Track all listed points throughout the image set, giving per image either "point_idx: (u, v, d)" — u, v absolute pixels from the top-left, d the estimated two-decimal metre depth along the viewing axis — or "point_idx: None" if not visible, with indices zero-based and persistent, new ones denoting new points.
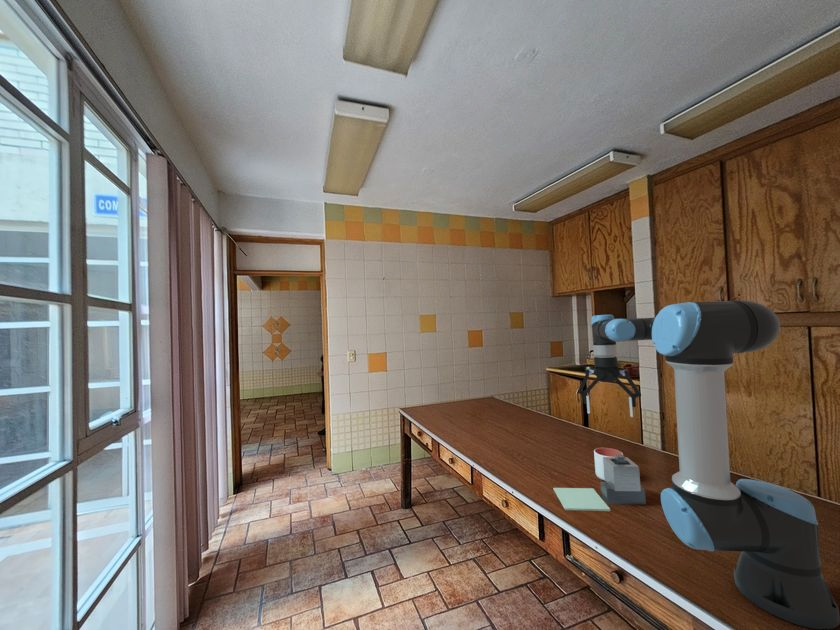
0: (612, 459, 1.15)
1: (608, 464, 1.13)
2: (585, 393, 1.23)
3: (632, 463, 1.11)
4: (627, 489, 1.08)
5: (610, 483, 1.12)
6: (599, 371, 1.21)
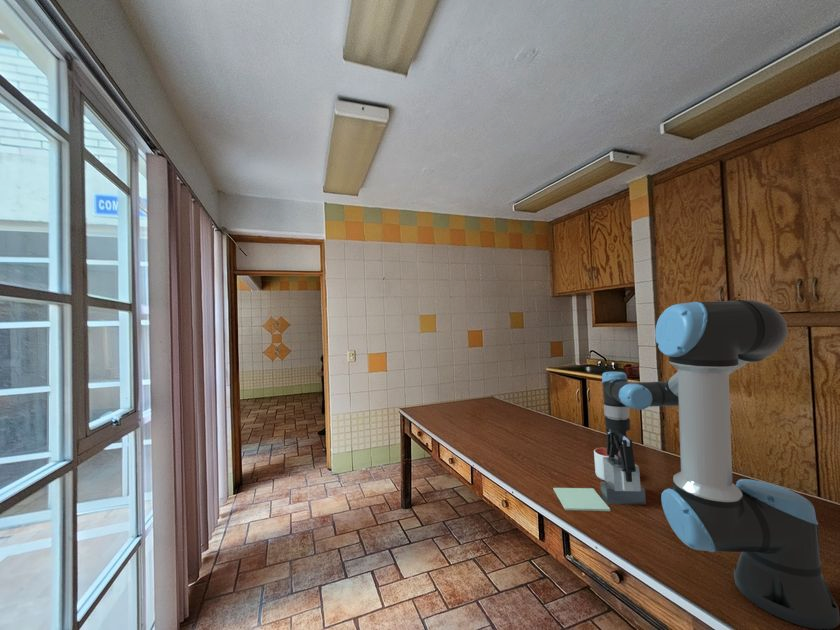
0: (612, 459, 1.15)
1: (608, 464, 1.13)
2: (609, 456, 1.18)
3: None
4: None
5: (610, 483, 1.12)
6: (611, 430, 1.15)
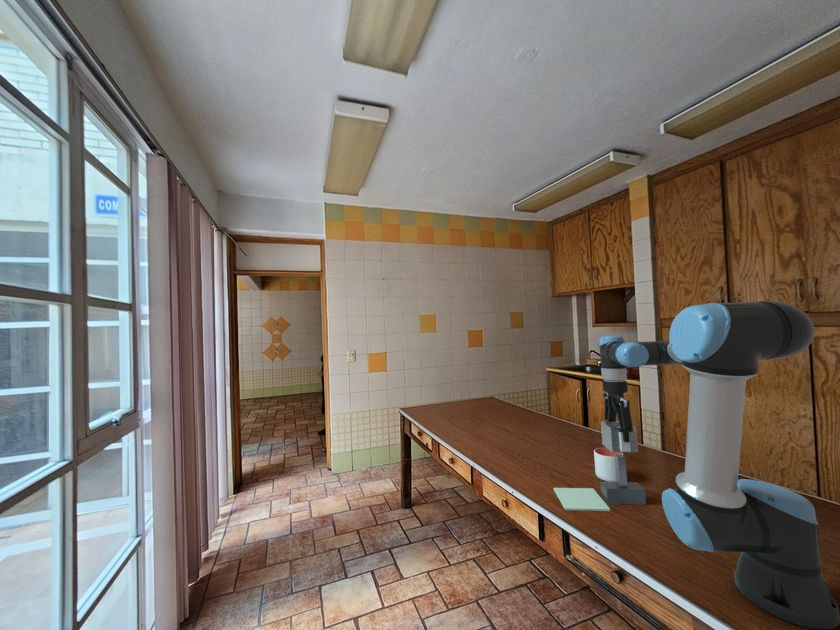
0: (610, 423, 1.16)
1: (606, 427, 1.13)
2: (607, 420, 1.18)
3: None
4: None
5: (608, 446, 1.12)
6: (609, 394, 1.16)
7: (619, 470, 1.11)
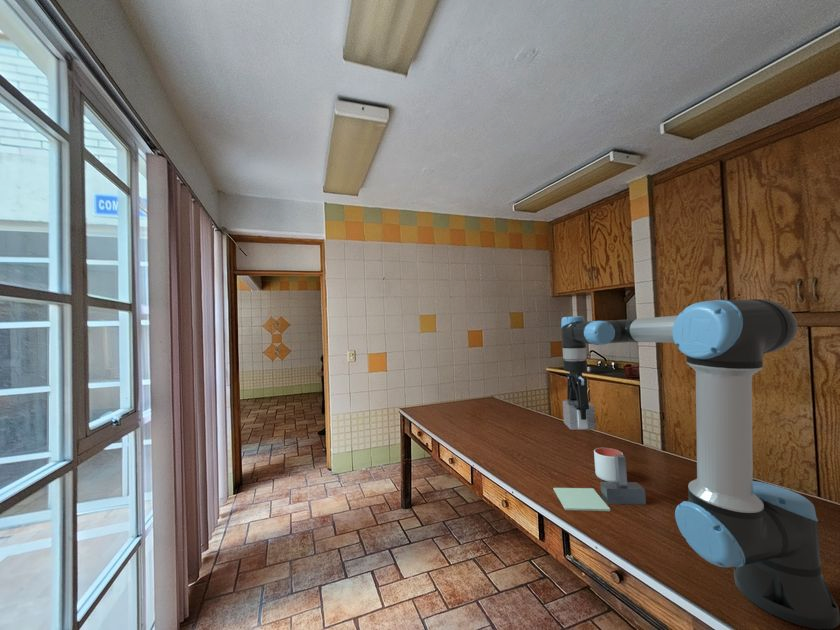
0: (571, 402, 1.18)
1: (566, 405, 1.15)
2: (569, 400, 1.20)
3: None
4: None
5: (567, 423, 1.15)
6: (570, 373, 1.18)
7: (619, 470, 1.11)
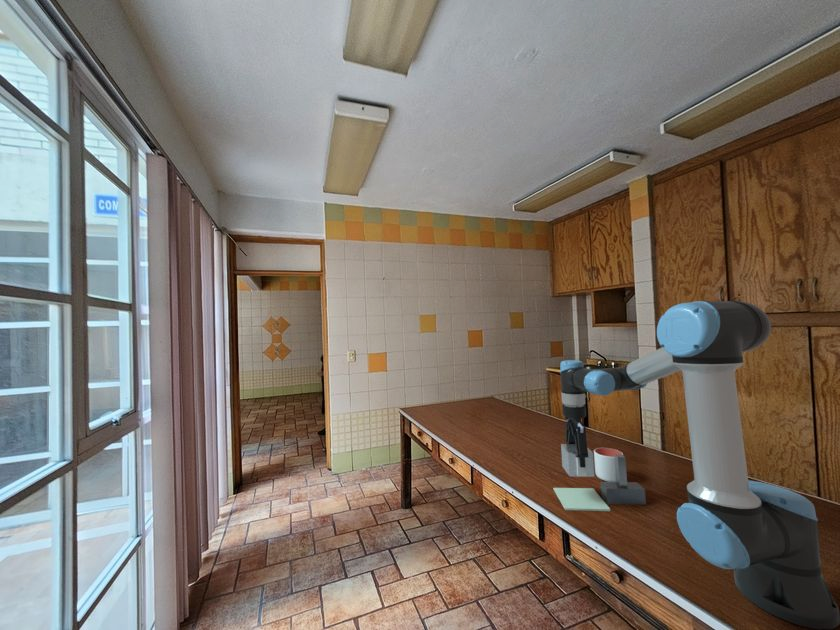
0: (569, 446, 1.17)
1: (564, 450, 1.15)
2: (568, 443, 1.20)
3: None
4: None
5: (566, 469, 1.14)
6: (569, 417, 1.17)
7: (619, 470, 1.11)
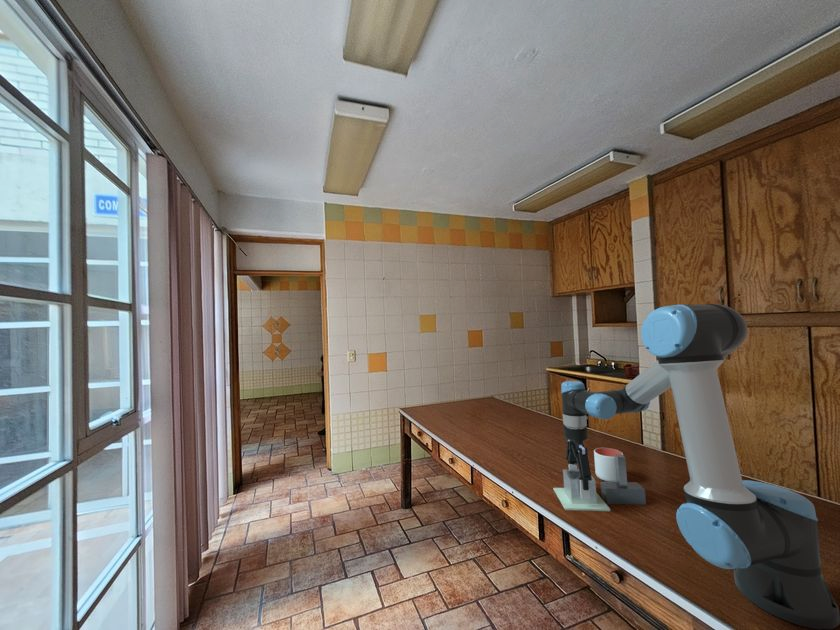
0: (571, 471, 1.17)
1: (566, 477, 1.14)
2: (568, 461, 1.20)
3: None
4: (583, 502, 1.10)
5: (568, 495, 1.13)
6: (570, 439, 1.17)
7: (619, 470, 1.11)
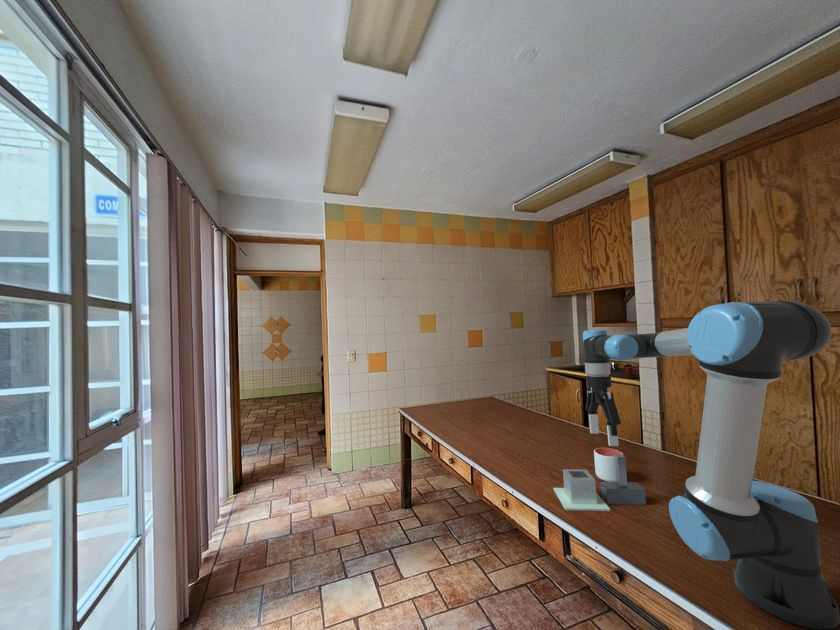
0: (571, 471, 1.17)
1: (566, 477, 1.14)
2: (588, 411, 1.18)
3: (589, 476, 1.12)
4: (583, 502, 1.10)
5: (568, 495, 1.13)
6: (593, 390, 1.13)
7: (619, 470, 1.11)
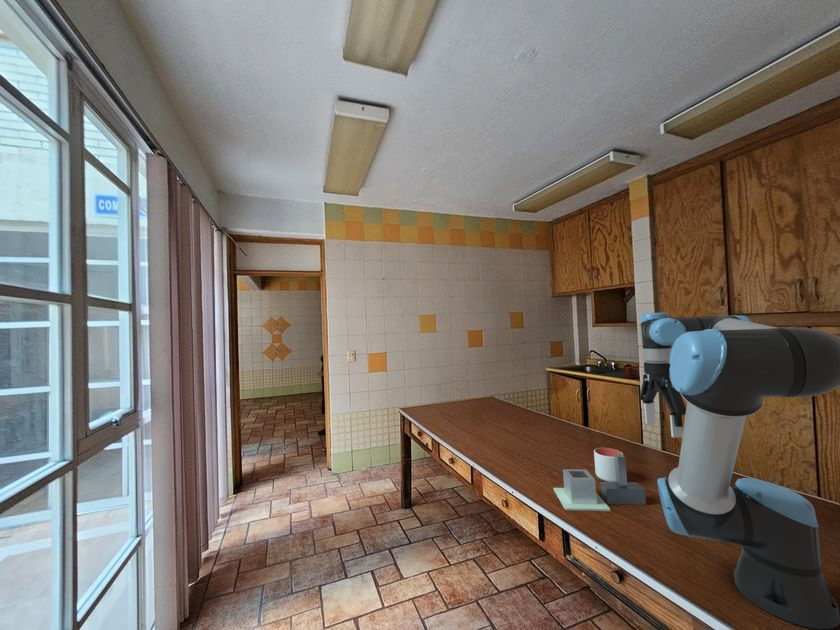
0: (571, 471, 1.17)
1: (566, 477, 1.14)
2: (644, 400, 1.10)
3: (589, 476, 1.12)
4: (583, 502, 1.10)
5: (568, 495, 1.13)
6: (651, 378, 1.05)
7: (619, 470, 1.11)
